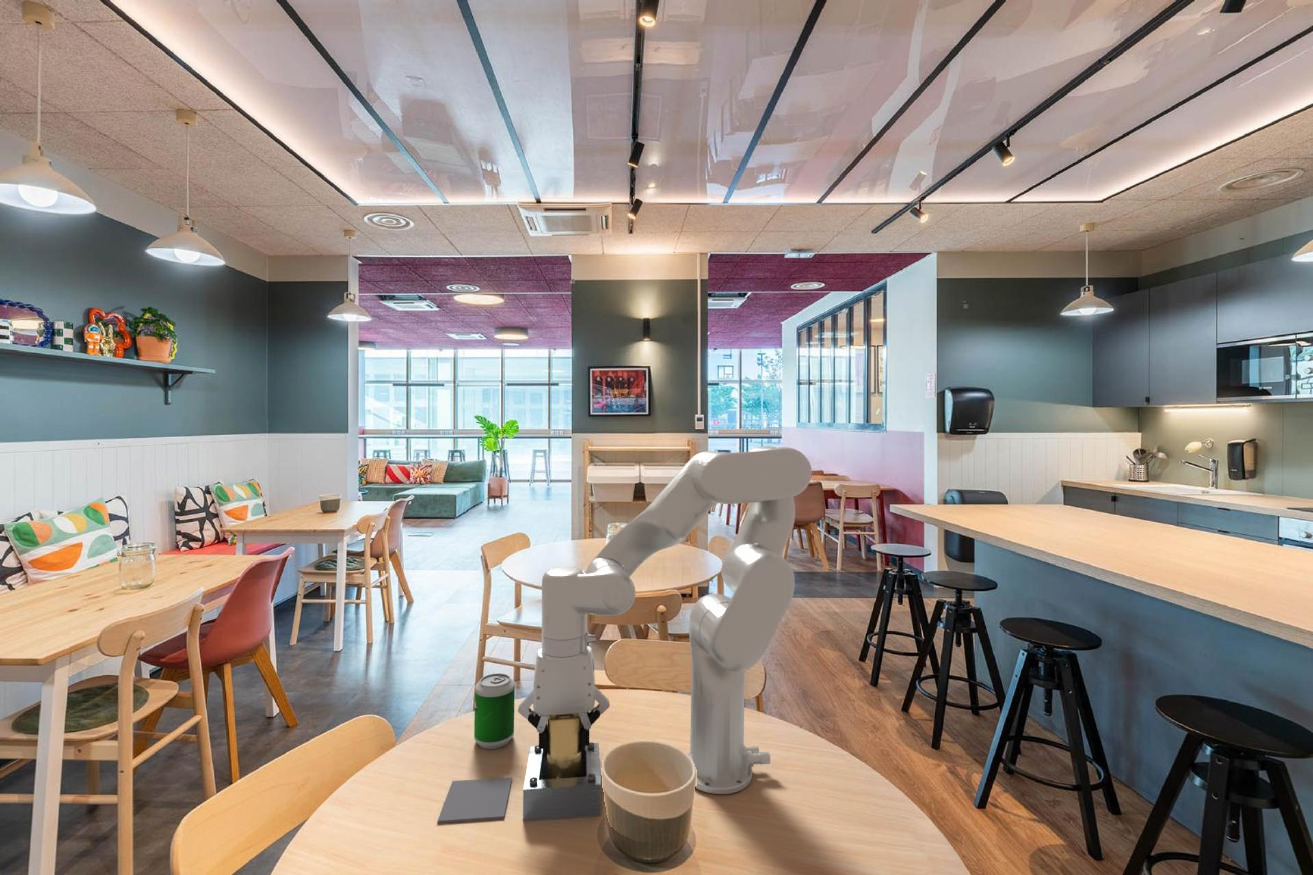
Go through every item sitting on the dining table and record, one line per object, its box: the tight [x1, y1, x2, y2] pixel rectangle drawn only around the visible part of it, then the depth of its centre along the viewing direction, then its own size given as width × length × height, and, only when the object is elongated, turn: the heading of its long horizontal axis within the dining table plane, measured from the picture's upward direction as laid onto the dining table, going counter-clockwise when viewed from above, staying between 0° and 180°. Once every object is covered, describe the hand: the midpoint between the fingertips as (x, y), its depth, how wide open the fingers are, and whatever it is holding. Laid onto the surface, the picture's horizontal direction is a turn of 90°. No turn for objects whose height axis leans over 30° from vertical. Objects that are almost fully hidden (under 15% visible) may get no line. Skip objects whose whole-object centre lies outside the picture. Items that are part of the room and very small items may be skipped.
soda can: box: [473, 672, 516, 750], centre depth 109 cm, size 8×8×12 cm
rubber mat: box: [436, 776, 513, 824], centre depth 92 cm, size 10×10×1 cm
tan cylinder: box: [547, 714, 581, 779], centre depth 93 cm, size 6×6×13 cm
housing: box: [522, 741, 602, 822], centre depth 93 cm, size 12×12×6 cm
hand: (564, 749), depth 93 cm, fingers closed on tan cylinder, 5 cm apart
